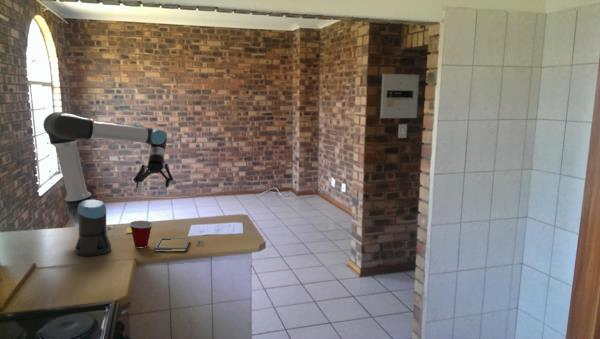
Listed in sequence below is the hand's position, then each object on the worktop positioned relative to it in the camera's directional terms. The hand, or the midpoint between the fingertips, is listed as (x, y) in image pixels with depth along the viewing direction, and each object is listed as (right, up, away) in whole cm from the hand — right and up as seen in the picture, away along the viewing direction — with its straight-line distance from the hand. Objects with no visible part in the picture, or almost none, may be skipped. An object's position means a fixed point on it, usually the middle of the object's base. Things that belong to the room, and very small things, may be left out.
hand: (151, 193), depth 214 cm
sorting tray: (+13, -26, -6) cm, 29 cm away
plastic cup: (-2, -26, -8) cm, 27 cm away
